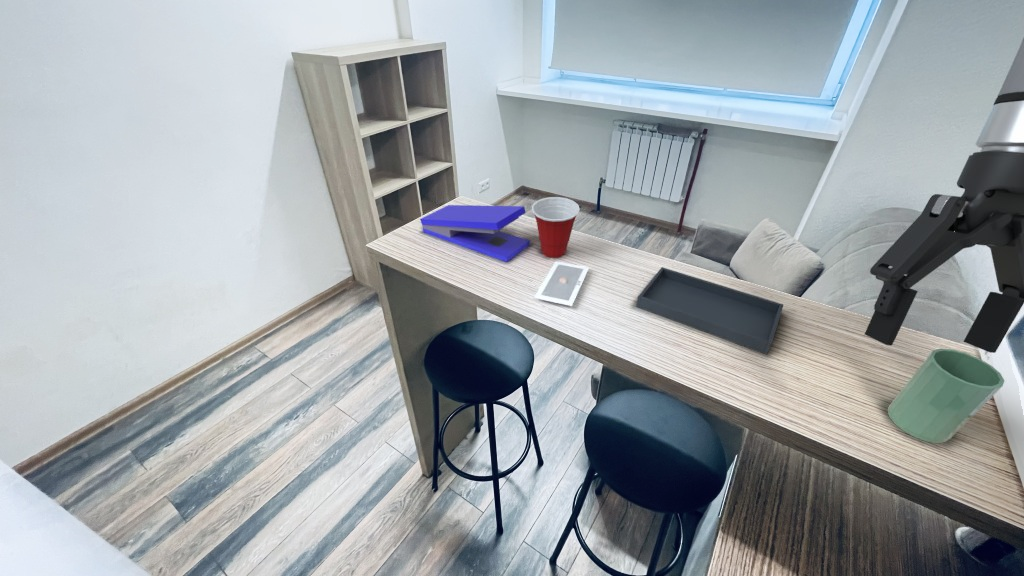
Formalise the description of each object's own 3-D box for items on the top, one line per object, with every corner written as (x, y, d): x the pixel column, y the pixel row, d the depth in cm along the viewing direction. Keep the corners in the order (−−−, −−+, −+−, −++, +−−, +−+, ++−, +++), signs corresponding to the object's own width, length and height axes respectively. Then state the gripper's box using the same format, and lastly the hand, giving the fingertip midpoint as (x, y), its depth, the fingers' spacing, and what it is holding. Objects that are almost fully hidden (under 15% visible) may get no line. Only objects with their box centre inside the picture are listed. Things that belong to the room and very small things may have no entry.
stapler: (505, 263, 95) (503, 224, 89) (419, 232, 108) (414, 197, 103) (531, 243, 102) (532, 206, 97) (449, 217, 116) (445, 183, 110)
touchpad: (533, 302, 82) (533, 293, 81) (555, 265, 94) (555, 257, 92) (571, 310, 80) (572, 301, 79) (588, 271, 91) (589, 263, 90)
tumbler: (962, 436, 56) (1018, 381, 49) (925, 448, 54) (977, 393, 48) (910, 398, 61) (955, 344, 55) (875, 408, 60) (917, 354, 53)
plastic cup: (528, 262, 95) (528, 215, 88) (533, 240, 104) (534, 195, 97) (575, 265, 93) (579, 218, 86) (576, 243, 102) (580, 198, 95)
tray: (779, 314, 78) (783, 304, 76) (766, 354, 69) (771, 343, 68) (659, 276, 89) (661, 266, 88) (636, 306, 80) (638, 296, 79)
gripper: (1076, 165, 45) (982, 336, 52) (880, 138, 42) (808, 322, 49) (1186, 170, 38) (1061, 366, 45) (960, 137, 35) (863, 352, 42)
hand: (929, 343), depth 47 cm, fingers open, 13 cm apart
